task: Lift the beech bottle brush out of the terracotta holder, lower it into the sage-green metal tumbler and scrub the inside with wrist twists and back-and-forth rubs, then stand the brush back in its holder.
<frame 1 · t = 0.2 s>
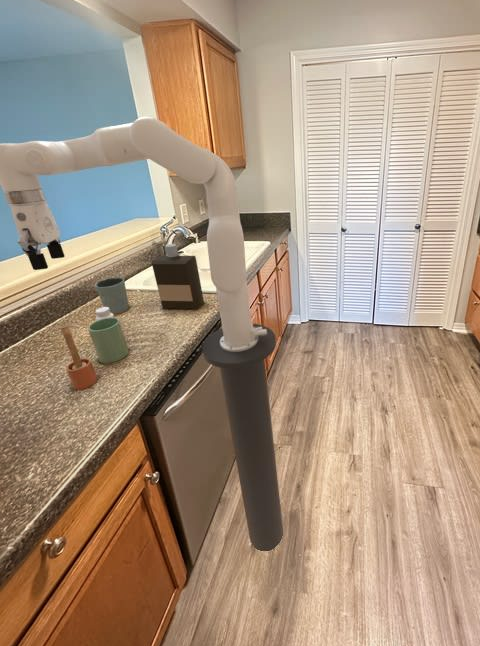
hand: (50, 263, 87), 31 cm above the countertop, tool pointing down, fingers open, 9 cm apart
holder: (85, 382, 88), on the countertop
blue-gray pot: (118, 309, 129), on the countertop
supplement bottle: (110, 335, 111), on the countertop
bottle: (183, 305, 130), on the countertop
brush: (85, 380, 88), resting on holder
tumbler: (114, 355, 99), on the countertop
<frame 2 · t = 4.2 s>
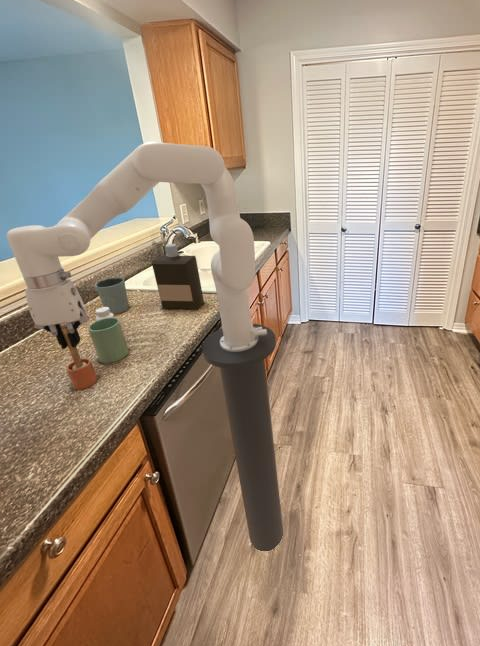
hand: (71, 344, 83), 12 cm above the countertop, tool pointing down, fingers closed on brush
brush: (85, 380, 88), point 1 cm above the countertop, touching gripper
everything else where it was.
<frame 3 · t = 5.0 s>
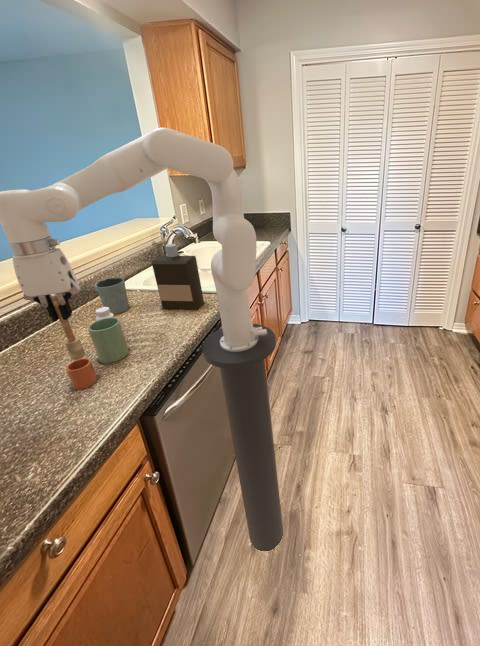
hand: (62, 317, 80), 20 cm above the countertop, tool pointing down, fingers closed on brush
brush: (78, 356, 85), point 8 cm above the countertop, touching gripper
everything else where it was.
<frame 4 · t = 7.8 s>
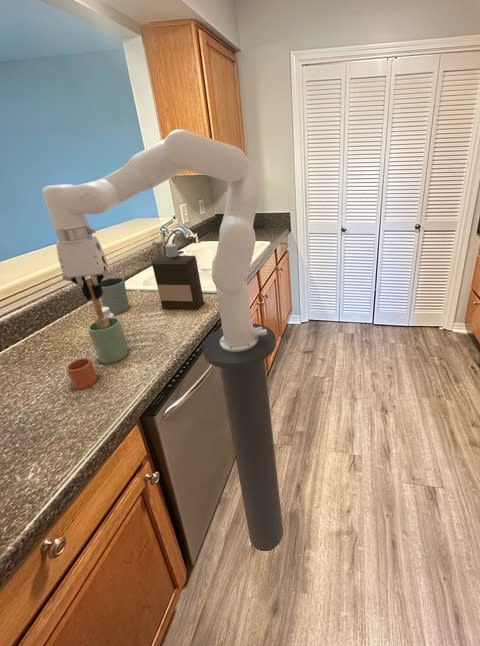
hand: (94, 297, 92), 20 cm above the countertop, tool pointing down, fingers closed on brush
brush: (105, 332, 96), point 8 cm above the countertop, touching gripper
everything else where it was.
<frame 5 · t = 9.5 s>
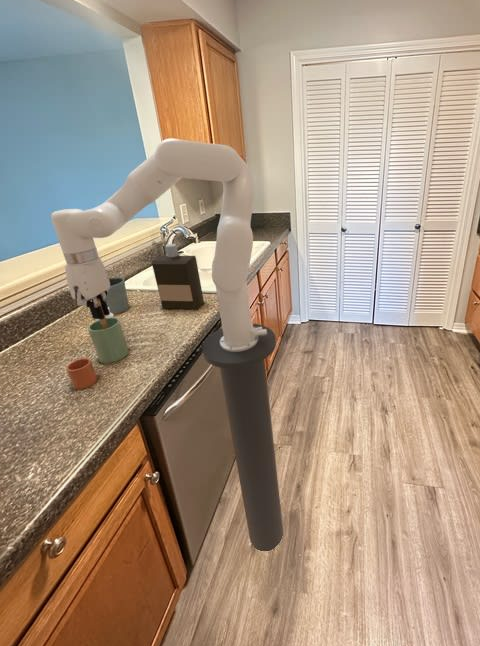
hand: (101, 316, 94), 14 cm above the countertop, tool pointing down, fingers closed on brush
brush: (112, 349, 99), point 2 cm above the countertop, touching gripper
everything else where it was.
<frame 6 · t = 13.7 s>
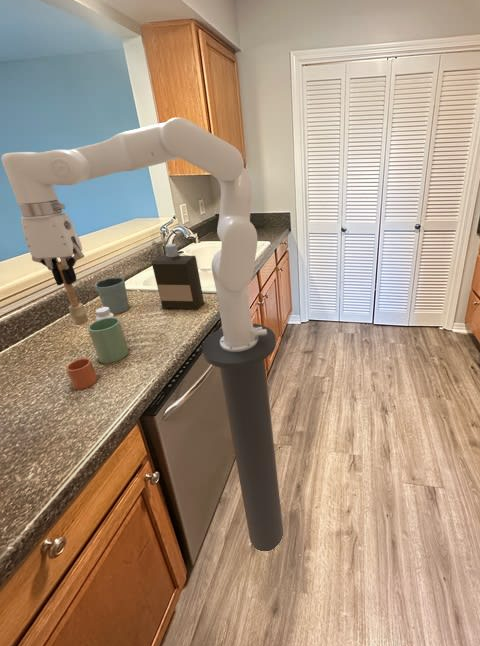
hand: (67, 282, 82), 27 cm above the countertop, tool pointing down, fingers closed on brush
brush: (81, 322, 87), point 16 cm above the countertop, touching gripper
everything else where it was.
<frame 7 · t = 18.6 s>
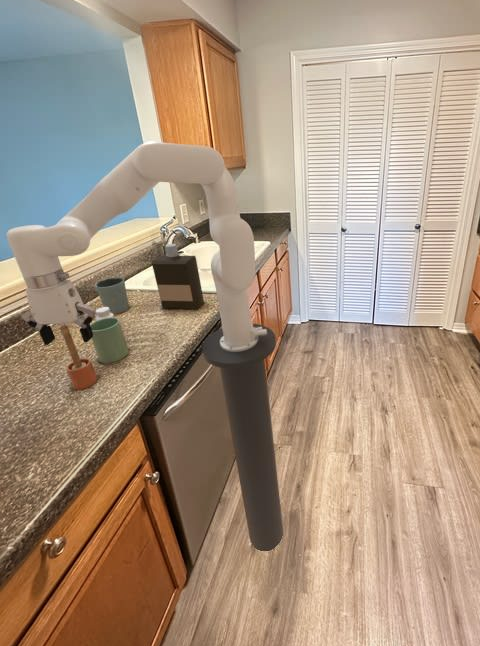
hand: (69, 340, 83), 13 cm above the countertop, tool pointing down, fingers open, 9 cm apart
brush: (84, 381, 88), resting on holder
everything else where it was.
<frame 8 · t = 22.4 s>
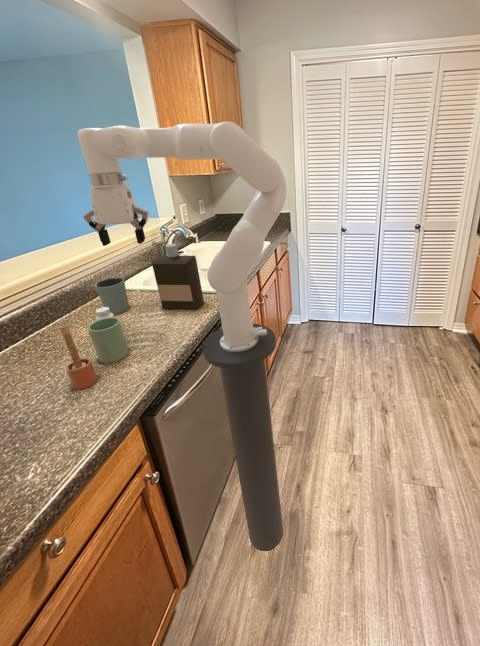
hand: (124, 243, 92), 33 cm above the countertop, tool pointing down, fingers open, 9 cm apart
nothing on the countertop moved.
at the end: brush 0.1 cm off-centre in the holder, point 0.5 cm above the holder's base; brush tilted 0°; the gripper is holding nothing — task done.
